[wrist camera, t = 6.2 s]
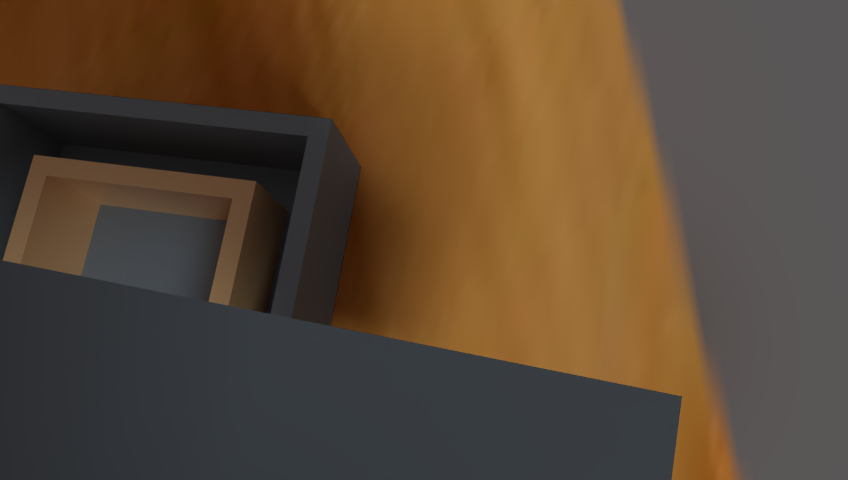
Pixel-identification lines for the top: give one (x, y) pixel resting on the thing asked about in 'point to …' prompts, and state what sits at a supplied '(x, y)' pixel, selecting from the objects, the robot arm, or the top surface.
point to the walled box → (177, 198)
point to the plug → (288, 398)
